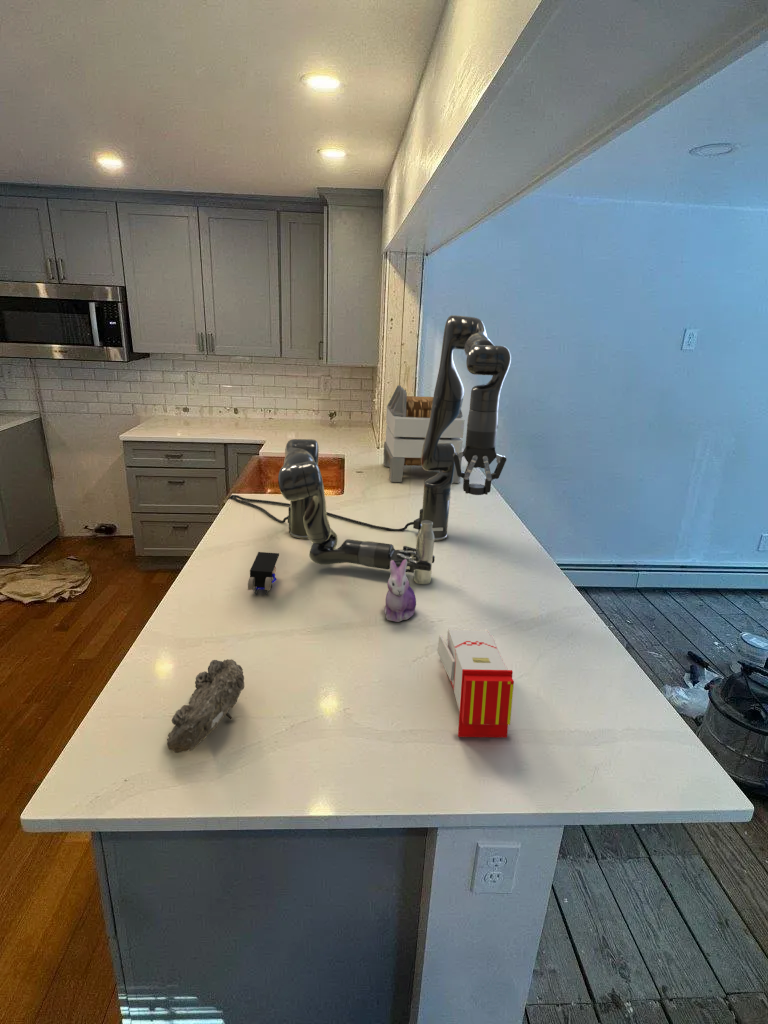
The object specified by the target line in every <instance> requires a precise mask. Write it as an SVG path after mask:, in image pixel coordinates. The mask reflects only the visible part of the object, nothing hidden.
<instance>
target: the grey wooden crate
mask: <svg viewBox="0 0 768 1024" xmlns="http://www.w3.org/2000/svg"><path fill="white" fill-rule="evenodd" d="M407 394H408V393H407V390H406V389H404V388H403V387H402V385H399V384H398V385H397V386H396V388H395V390H394V392H393V394H392V395H391V398H390V400H389V402H388V404H387V405H386V413H385V414H386V415H385V423H386V428H385V438H384V442H383V466H384V467H388V468H389V475H388V476H389V477H388V478H389V480H390V482H391V483H402V482H403V475H404V469H405V466H406V467H407V466H411V467H412V466H413V467H415V466H416V467H417V466H418V467H422V465H421V453H422V448H423V444H424V440H425V437H426V433H427V430H428V426H429V421H430V415H431V409H432V402H433V396H415V395H414V396H413V395H412V396H411V395H407ZM464 429H465V419H464V418H463V411H462V409H461V410H460V413H459V415H458V416H457V417H456V419H455V420H454V421H453V422H452V423H451V424H450V425H449V426H448V428H447V429H446V430H445V431H444V432H443V434H442V435H441V437H440V439H439V441H438V443H450V444H452V445H453V446H454V448H455V453H461V452H463V442H464V441H463V440H462V439H463V438H464V431H465V430H464ZM462 461H463V460H462ZM462 461H460V462H459V463H460V467H461V468H462ZM455 483H456V484H459V483H461V477H458V475H457V471H456V467H455V466H454V473H453V481H452V484H455Z"/></svg>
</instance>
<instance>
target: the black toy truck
mask: <svg viewBox="0 0 768 1024" xmlns="http://www.w3.org/2000/svg"><path fill="white" fill-rule="evenodd" d="M279 556H280V553H277V552H265V551H258V552H257V554H256V556H255V558H254V561H253V562H252V565H251V568H250V569H249V578H248V580H247V590H249V591H253V594H254V595H257V594H258V592H259V590H264V591H265V592H264V595H265V596H266V595H268V593H269V591H271V589H272V588H273V584H274V583H275V582H276V581H277V577H276V573H277V567H276V565H277V562H278V559H279Z"/></svg>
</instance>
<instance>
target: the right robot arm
mask: <svg viewBox="0 0 768 1024" xmlns="http://www.w3.org/2000/svg"><path fill="white" fill-rule="evenodd" d="M454 350H463V351H464V354H465V356H466V369H467V372H469V373H470V374H472V375H474V376H475V375H476V376H492V377H491V378H490V380H489V381H488V382H486V383H482V384H478V385H477V384H476V385H474V386H473V387H472V388H471V391H470V400H469V411H468V416H467V423H466V433H465V446H464V449H463V450H462V452H461V453H455V448H454V446H453V445H452V444H450V443H438V441H439V439H440V437H441V435H442V434H443V432H444V431H445V430H446V429H447V428H448V426H449V425H450V424H451V423H452V422H453V421H454V420H455V419H456V417H457V416H458V415H459V413H460V410H461V411H462V406H463V401H464V398H465V397H464V396H465V388H464V384H463V382H462V380H461V377H460V375H459V373H458V370H457V368H456V365H455V361H454V356H453V355H454ZM511 362H512V354H511V352H510V350H509V348H508V347H506V346H504V345H495V344H494V343H493V342H492V340H490V339H489V337H488V334H487V330H486V327H485V323H483V321H482V320H481V319H480V318H477V317H474V316H465V315H453V314H452V315H449V316H448V317H447V319H446V321H445V324H444V329H443V335H442V345H441V352H440V361H439V367H438V373H437V377H436V383H435V387H434V390H433V391H434V392H433V396H432V397H433V402H432V409H431V415H430V421H429V426H428V430H427V433H426V437H425V440H424V444H423V448H422V453H421V465H422V466H421V467H422V469H423V470H424V471H427V472H437V473H436V474H435V475H433V476H431V477H428V478H427V479H425V480H424V482H423V493H422V496H423V497H422V506H421V508H420V509H419V516H418V518H416V519H414V520H413V521H411V522H407V523H406V524H405V526H403V527H401V528H391V527H386V526H380V525H375V524H371V523H368V522H363V521H359V520H357V519H352V518H349V517H345V516H342V515H338V514H335V513H331V512H328V511H326V513H327V516H330V517H334V518H336V519H340V520H343V521H347V522H351V523H353V524H358V525H362V526H365V527H370V528H373V529H377V530H383V531H388V532H404V531H406V530H407V529H408V528H409V527H410V526H413V527H412V528H413V529H415V530H417V534H418V533H419V531H420V529H421V522H422V521H423V520H429V521H432V522H433V525H432V530H433V533H434V542H440V541H444V540H446V539H447V538H448V525H449V517H450V516H449V514H450V504H451V494H452V493H451V491H452V485H453V483H452V481H453V473H454V466H455V467H456V471H457V475H458V477H460V478H462V479H463V480H462V481H463V483H462V490H463V492H464V493H465V494H469V493H468V492H469V484H470V481H471V480H470V476H471V474H472V472H473V470H474V469H479V468H480V469H484V473H485V479H484V486H485V494H484V495H488V493H490V492H491V488H492V481H493V480H498V479H499V478H500V476H501V474H502V471H503V469H504V467H505V464H506V462H507V457H506V456H505V455H504V454H502V455H501V454H498V453H497V450H496V444H497V437H498V436H497V435H498V429H499V405H500V398H501V397H500V396H501V391H502V388H503V384H504V381H505V380H506V379H505V378H506V377H507V374H508V372H509V369H510V366H511ZM463 457H464V459H465V460H466V462H467V465H466V467H465V471H463V470H462V466H461V467H460V463H459V462H460V461H463ZM495 459H496V463H497V464H496V466H495V469H494V471H493V472H492V471H491V467H490V465H491V463H493V462H494V460H495ZM231 495H232V496H231ZM231 495H230V496H229V497H228V498H227V499H229V500H231V499H234V498H233V496H235V497H236V498H237V499H239V500H242V501H245V502H251V503H253V502H254V503H263V504H272V505H279V506H286V507H289V506H290V503H288V502H281V501H275V500H274V501H273V500H265V499H256V498H255V499H254V498H246V497H242V496H240V495H238V494H231Z"/></svg>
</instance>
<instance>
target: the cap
mask: <svg viewBox="0 0 768 1024" xmlns="http://www.w3.org/2000/svg"><path fill="white" fill-rule="evenodd" d="M468 494H469V495H473V496H483V495H486V494H485V484H482V483H469V492H468Z"/></svg>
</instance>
